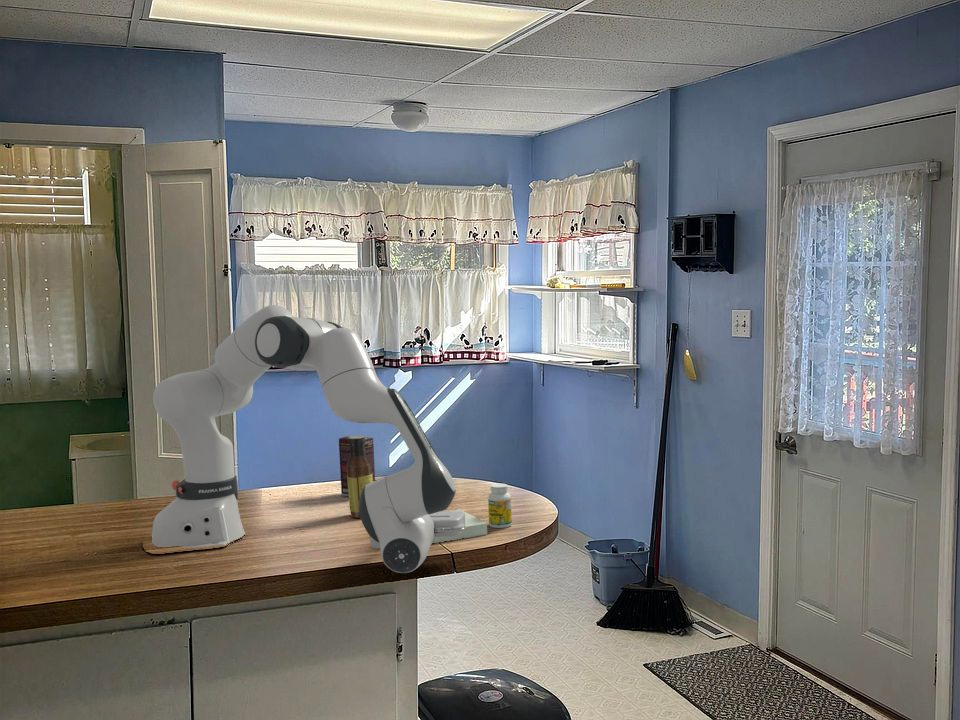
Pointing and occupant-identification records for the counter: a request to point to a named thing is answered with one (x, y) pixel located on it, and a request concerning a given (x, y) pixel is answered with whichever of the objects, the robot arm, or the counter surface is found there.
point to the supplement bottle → (499, 506)
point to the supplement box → (345, 455)
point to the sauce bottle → (357, 472)
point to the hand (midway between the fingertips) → (420, 513)
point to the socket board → (467, 529)
